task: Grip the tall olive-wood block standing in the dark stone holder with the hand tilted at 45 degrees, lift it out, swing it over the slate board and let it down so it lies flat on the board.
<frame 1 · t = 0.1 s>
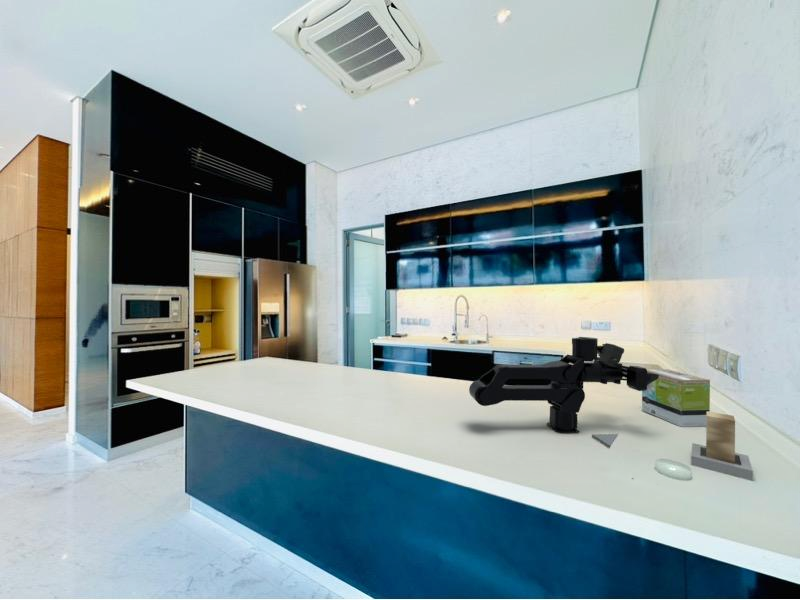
hand: (645, 372, 99), 17 cm above the countertop, tool horizontal, fingers open, 9 cm apart
slate board: (635, 448, 85), on the countertop
wooden block: (719, 464, 75), point 1 cm above the countertop, touching stone holder
tea box: (673, 419, 108), on the countertop
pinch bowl: (672, 477, 71), on the countertop
stone holder: (719, 469, 75), on the countertop
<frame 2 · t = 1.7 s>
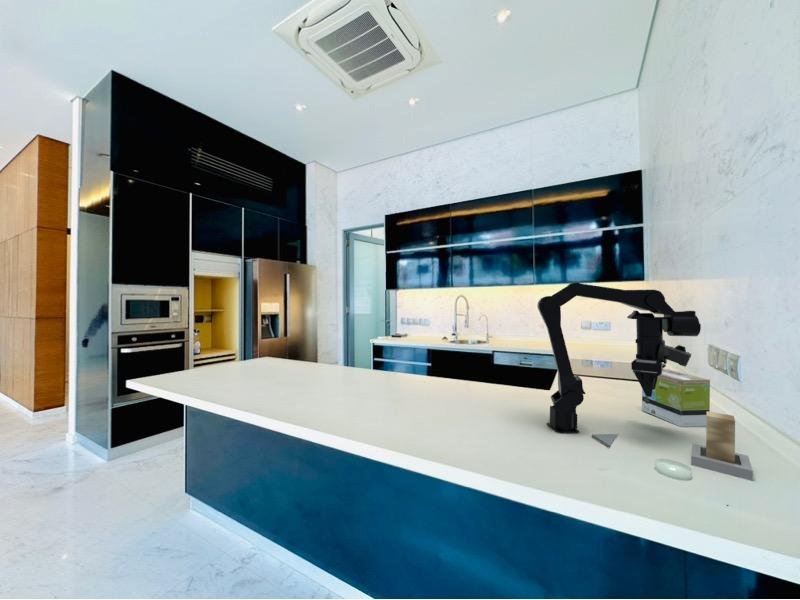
hand: (650, 392, 90), 13 cm above the countertop, tool pointing down, fingers open, 9 cm apart
nothing on the countertop moved.
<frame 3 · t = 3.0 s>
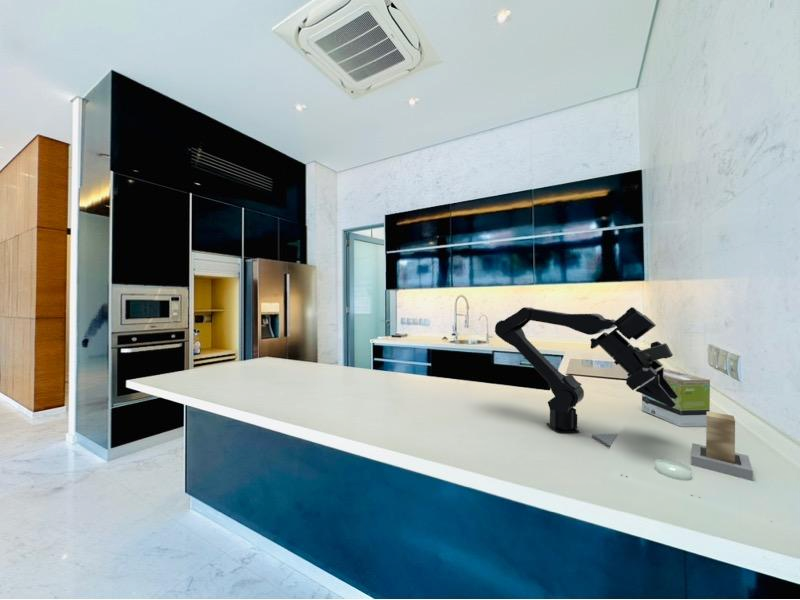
hand: (675, 402, 80), 13 cm above the countertop, tool tilted 45°, fingers open, 9 cm apart
nothing on the countertop moved.
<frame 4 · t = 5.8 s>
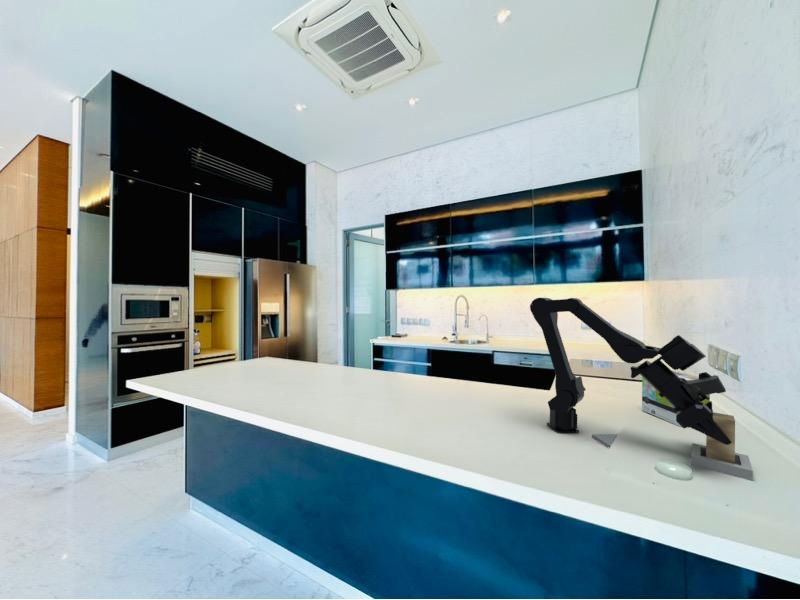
hand: (728, 440, 74), 7 cm above the countertop, tool tilted 45°, fingers closed on wooden block, 4 cm apart
wooden block: (719, 464, 75), point 1 cm above the countertop, touching gripper, stone holder
everything else where it was.
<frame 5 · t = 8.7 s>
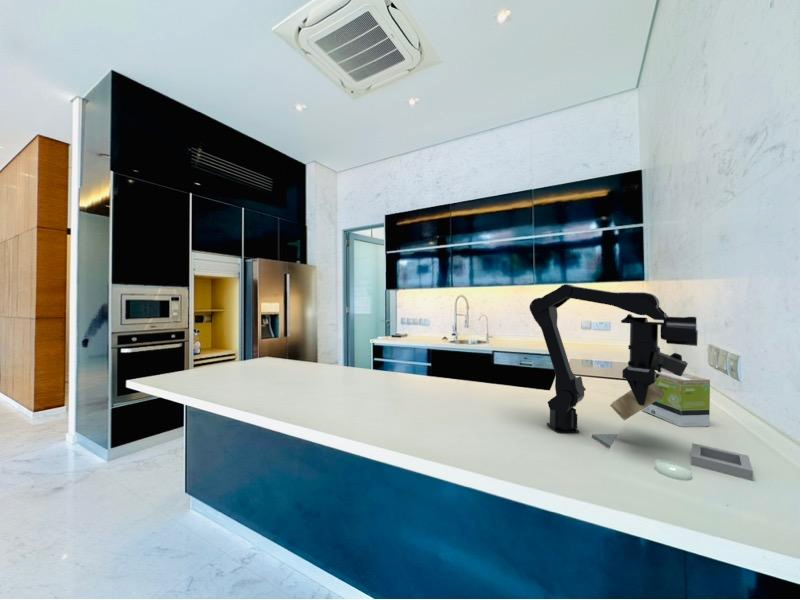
hand: (642, 403, 84), 12 cm above the countertop, tool pointing down, fingers closed on wooden block, 4 cm apart
wooden block: (618, 410, 88), point 9 cm above the countertop, tilted 45°, touching gripper
everything else where it was.
when the fingers open (6 cm above the countertop, at t = 10.1 s): wooden block moves 2 cm and tips over, resting on slate board.
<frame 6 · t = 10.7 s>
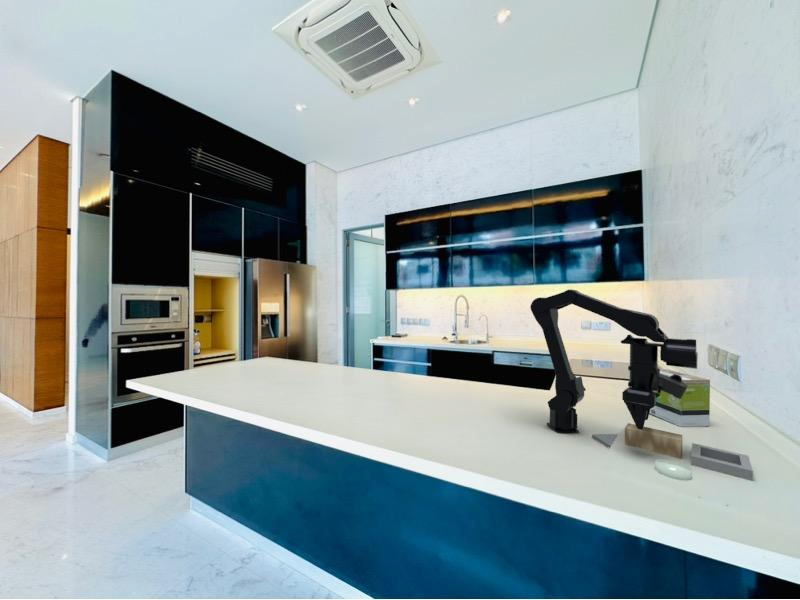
hand: (642, 424, 84), 6 cm above the countertop, tool pointing down, fingers open, 9 cm apart
wooden block: (626, 433, 86), point 3 cm above the countertop, tilted 90°, touching slate board
everything else where it was.
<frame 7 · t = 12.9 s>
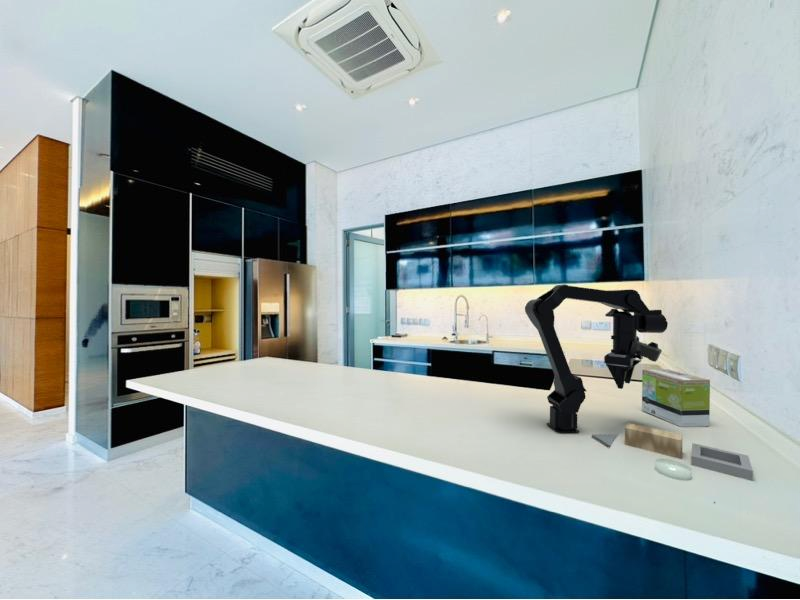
hand: (624, 385, 97), 13 cm above the countertop, tool pointing down, fingers open, 9 cm apart
nothing on the countertop moved.
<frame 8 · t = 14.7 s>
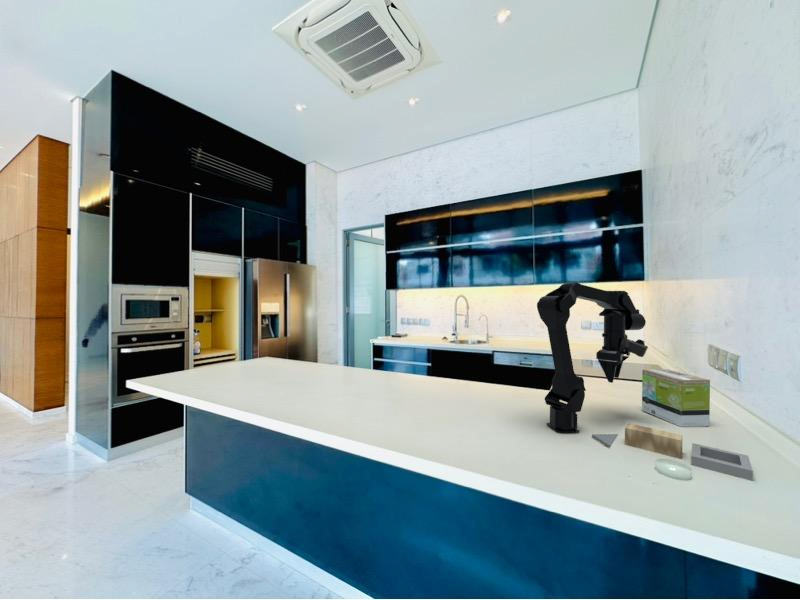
hand: (613, 379, 104), 13 cm above the countertop, tool pointing down, fingers open, 9 cm apart
nothing on the countertop moved.
at the end: wooden block tilted 90°; wooden block inside the target area (2.7 cm from its centre), point 3.0 cm above the countertop; the gripper is holding nothing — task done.
